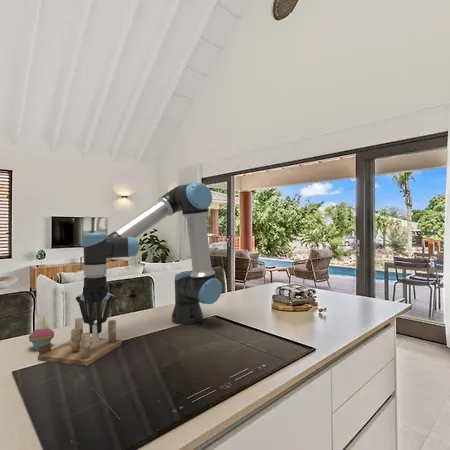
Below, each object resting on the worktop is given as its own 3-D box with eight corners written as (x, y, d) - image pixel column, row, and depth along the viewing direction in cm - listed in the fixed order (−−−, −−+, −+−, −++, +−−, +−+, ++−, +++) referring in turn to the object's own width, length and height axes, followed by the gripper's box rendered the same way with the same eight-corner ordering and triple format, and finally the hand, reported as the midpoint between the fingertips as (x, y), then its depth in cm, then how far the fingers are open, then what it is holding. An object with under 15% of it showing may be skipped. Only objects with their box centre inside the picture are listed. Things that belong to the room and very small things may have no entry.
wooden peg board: (121, 344, 126) (121, 319, 126) (87, 365, 107) (86, 337, 107) (78, 340, 131) (77, 316, 131) (37, 360, 112) (37, 332, 112)
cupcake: (36, 344, 127) (35, 313, 127) (58, 343, 128) (58, 312, 128) (24, 352, 119) (24, 320, 119) (48, 351, 120) (48, 319, 120)
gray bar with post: (76, 339, 126) (76, 320, 126) (80, 351, 114) (80, 329, 114) (68, 340, 125) (68, 321, 125) (71, 353, 113) (71, 331, 113)
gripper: (116, 273, 120) (116, 337, 120) (79, 274, 118) (79, 339, 118) (111, 277, 112) (112, 345, 112) (72, 278, 111) (72, 347, 111)
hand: (95, 342), depth 115 cm, fingers closed
